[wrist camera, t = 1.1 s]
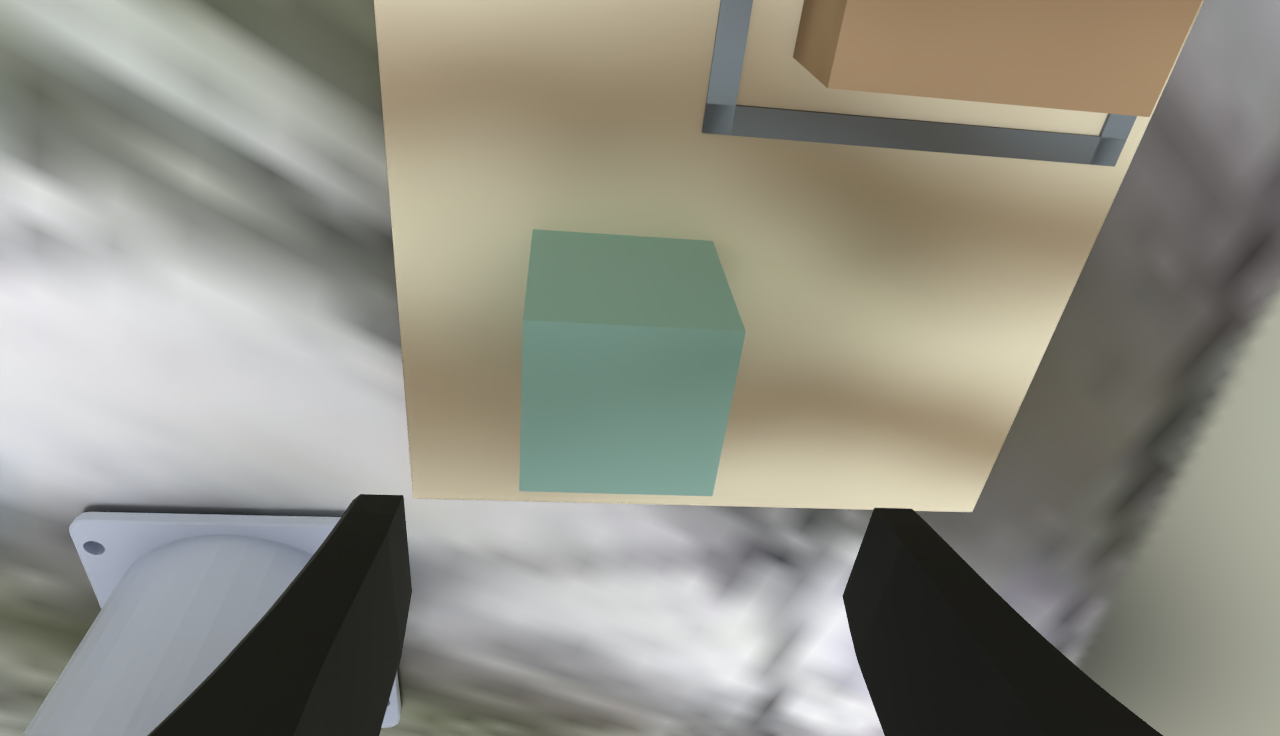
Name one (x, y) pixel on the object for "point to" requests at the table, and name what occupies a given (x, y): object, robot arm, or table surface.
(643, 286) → the teal block
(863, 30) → the walnut slab
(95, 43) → the table surface
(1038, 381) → the table surface
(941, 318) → the build board
